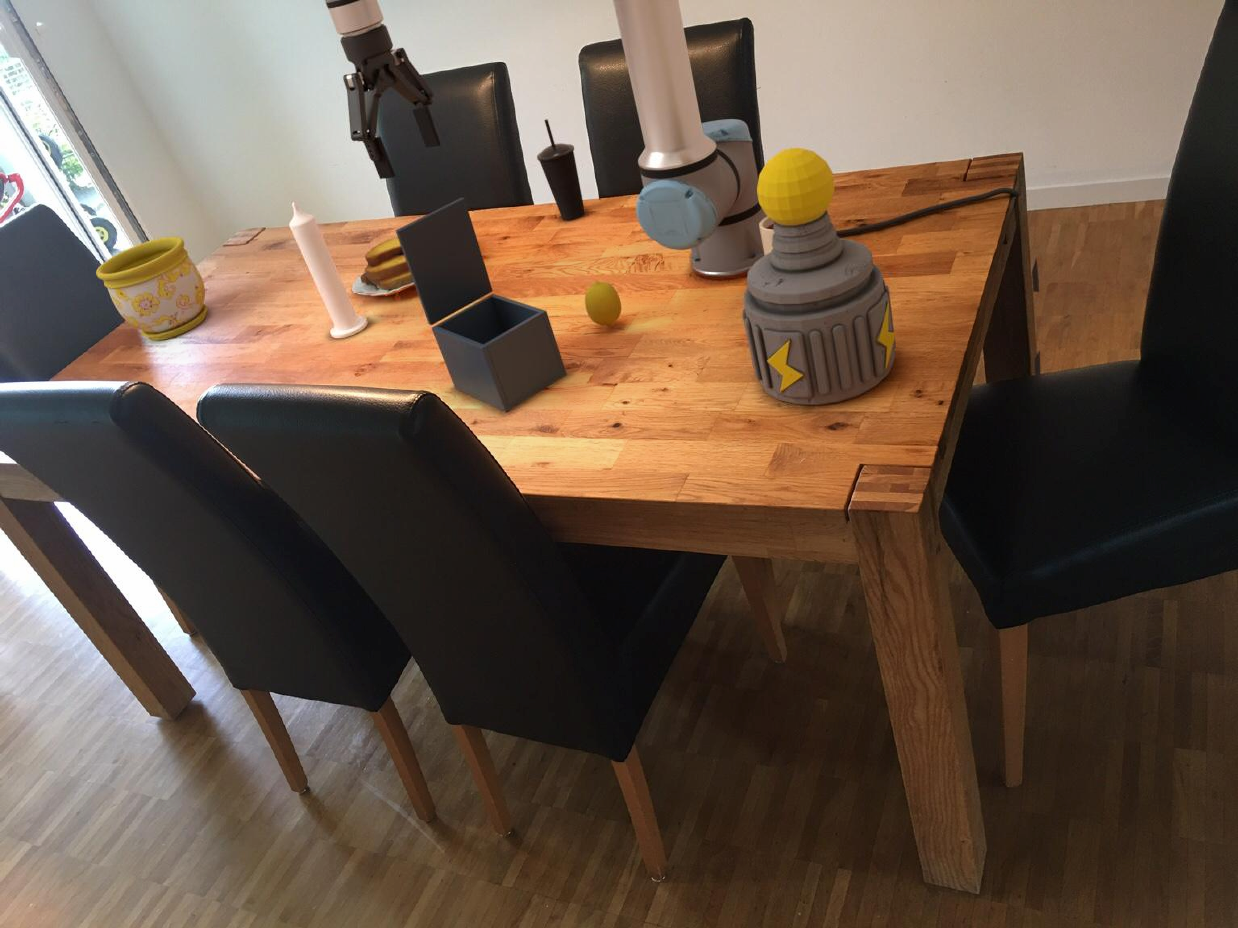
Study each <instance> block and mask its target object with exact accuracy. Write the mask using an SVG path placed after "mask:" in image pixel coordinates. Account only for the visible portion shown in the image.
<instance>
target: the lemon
mask: <svg viewBox="0 0 1238 928" xmlns="http://www.w3.org/2000/svg"><path fill="white" fill-rule="evenodd" d="M584 305H585V311H586V312H587V315H588V317H589V318H590V320H591V321H592V322H593V323H595V324H596V325H599V326H602V327H606V328H611V327H612V326H613V325H614V324H615V323H616V322H617V321H618V319H619V318H620V316H621V313H622V302H621V298H620V295H619V294H618V291H617V290H616V289H615V287H614V286H613V285H612V284H611V283H608V282H605V281H600V280H596V281H594V283H593V284H591V285H590V286H589V287H588V288H587V290H586V292H585V296H584Z"/></svg>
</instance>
